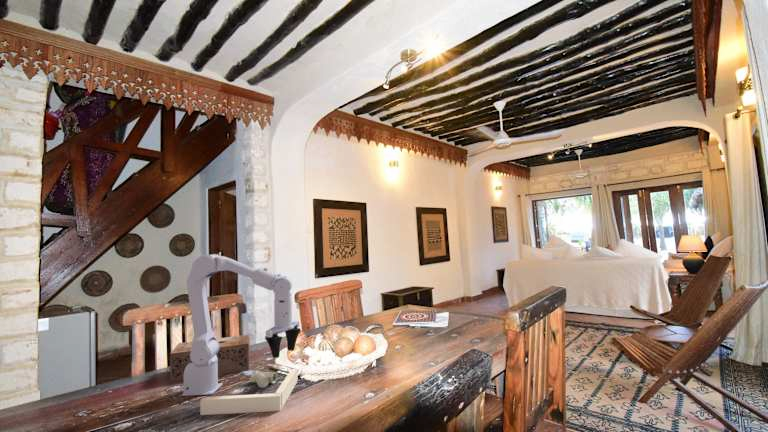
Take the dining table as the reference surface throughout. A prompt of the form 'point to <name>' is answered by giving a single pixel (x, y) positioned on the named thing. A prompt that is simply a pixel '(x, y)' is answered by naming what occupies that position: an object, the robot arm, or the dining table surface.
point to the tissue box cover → (229, 355)
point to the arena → (250, 400)
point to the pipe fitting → (263, 378)
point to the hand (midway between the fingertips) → (283, 353)
